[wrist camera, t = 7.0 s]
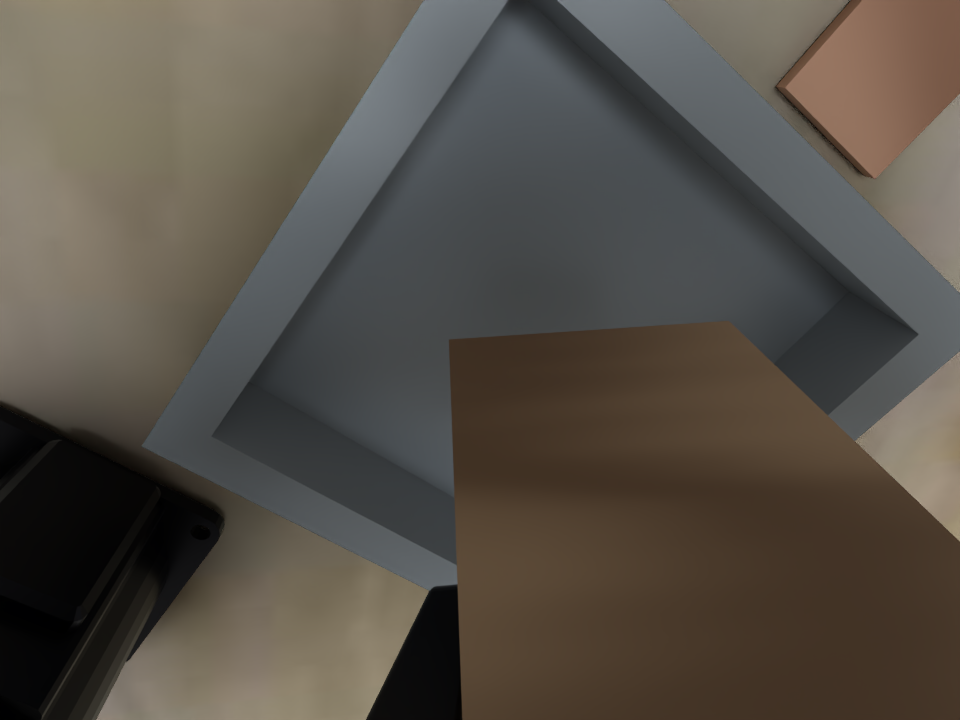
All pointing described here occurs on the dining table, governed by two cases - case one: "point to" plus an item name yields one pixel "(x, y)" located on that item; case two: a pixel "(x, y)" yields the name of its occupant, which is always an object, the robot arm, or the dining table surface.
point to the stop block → (684, 540)
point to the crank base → (879, 76)
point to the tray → (535, 261)
